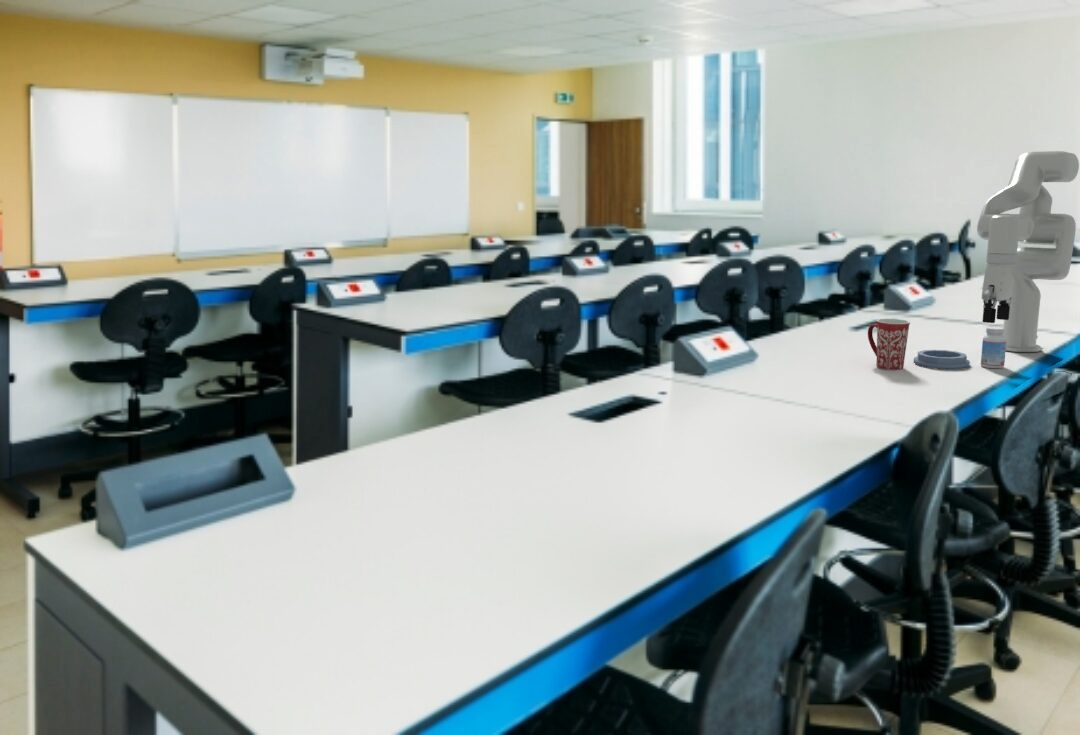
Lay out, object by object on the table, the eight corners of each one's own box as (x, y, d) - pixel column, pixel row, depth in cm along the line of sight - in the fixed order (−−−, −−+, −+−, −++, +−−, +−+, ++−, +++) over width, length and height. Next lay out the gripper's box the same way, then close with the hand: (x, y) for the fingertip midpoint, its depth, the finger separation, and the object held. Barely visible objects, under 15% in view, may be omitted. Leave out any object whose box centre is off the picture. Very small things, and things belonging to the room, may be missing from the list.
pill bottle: (1006, 369, 265) (1010, 329, 263) (983, 368, 267) (986, 329, 264) (1000, 365, 271) (1004, 326, 269) (978, 364, 272) (981, 326, 270)
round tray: (927, 357, 284) (928, 347, 283) (978, 363, 273) (979, 353, 272) (904, 364, 274) (904, 354, 273) (956, 371, 263) (956, 361, 262)
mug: (914, 368, 268) (917, 321, 265) (891, 372, 264) (894, 324, 261) (879, 361, 279) (882, 316, 276) (857, 364, 274) (859, 318, 272)
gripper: (999, 258, 271) (994, 317, 274) (974, 260, 259) (969, 322, 262) (1027, 259, 266) (1021, 319, 269) (1002, 262, 254) (997, 325, 257)
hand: (995, 321), depth 266 cm, fingers open, 9 cm apart
